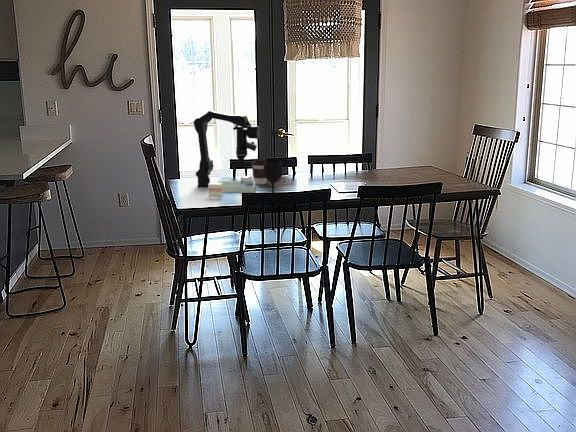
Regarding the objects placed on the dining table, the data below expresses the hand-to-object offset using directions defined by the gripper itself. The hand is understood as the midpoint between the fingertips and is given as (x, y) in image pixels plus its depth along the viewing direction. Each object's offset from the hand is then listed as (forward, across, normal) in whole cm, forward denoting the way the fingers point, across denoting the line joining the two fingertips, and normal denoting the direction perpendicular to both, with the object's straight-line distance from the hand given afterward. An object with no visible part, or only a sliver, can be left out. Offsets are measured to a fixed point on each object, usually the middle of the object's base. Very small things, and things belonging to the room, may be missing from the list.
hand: (241, 165), depth 352 cm
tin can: (+13, -5, -3) cm, 14 cm away
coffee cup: (+14, +14, -11) cm, 22 cm away
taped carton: (+14, -20, +14) cm, 28 cm away
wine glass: (+14, -26, -17) cm, 34 cm away
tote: (+14, -5, +3) cm, 15 cm away
